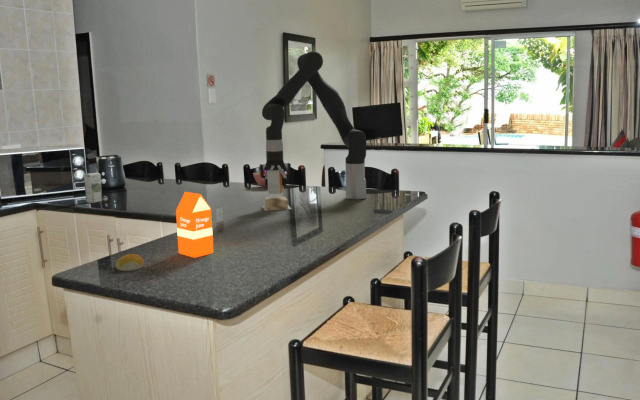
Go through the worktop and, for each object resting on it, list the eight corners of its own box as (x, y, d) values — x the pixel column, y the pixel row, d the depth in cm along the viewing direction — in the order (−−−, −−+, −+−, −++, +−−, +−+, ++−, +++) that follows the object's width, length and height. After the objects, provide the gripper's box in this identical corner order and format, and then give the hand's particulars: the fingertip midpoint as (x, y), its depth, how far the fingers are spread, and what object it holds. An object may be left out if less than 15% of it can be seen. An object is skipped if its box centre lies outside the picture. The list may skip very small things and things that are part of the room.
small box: (280, 194, 258) (279, 171, 256) (267, 194, 259) (266, 170, 257) (284, 191, 265) (283, 168, 264) (272, 191, 266) (271, 168, 264)
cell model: (253, 185, 335) (252, 165, 333) (288, 184, 337) (287, 164, 335) (253, 189, 319) (252, 169, 317) (290, 188, 321) (289, 168, 319)
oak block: (284, 205, 268) (284, 196, 268) (288, 208, 260) (287, 199, 259) (265, 206, 267) (265, 197, 266) (267, 210, 258) (267, 201, 257)
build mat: (288, 206, 269) (288, 204, 269) (291, 210, 260) (291, 208, 260) (262, 207, 267) (262, 206, 267) (264, 211, 257) (264, 210, 257)
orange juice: (194, 257, 186) (190, 195, 182) (178, 253, 191) (174, 193, 188) (214, 252, 191) (210, 192, 188) (197, 248, 197) (194, 190, 194)
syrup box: (96, 200, 296) (93, 172, 294) (103, 201, 293) (100, 172, 290) (85, 202, 291) (83, 173, 289) (92, 203, 288) (90, 174, 286)
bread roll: (143, 262, 183) (142, 249, 182) (144, 270, 174) (143, 257, 174) (115, 265, 180) (114, 252, 180) (115, 273, 172) (114, 259, 171)
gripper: (289, 148, 264) (290, 184, 267) (257, 149, 261) (258, 186, 264) (291, 149, 256) (293, 187, 259) (259, 151, 254) (260, 189, 256)
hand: (275, 186), depth 262 cm, fingers closed on small box, 7 cm apart
